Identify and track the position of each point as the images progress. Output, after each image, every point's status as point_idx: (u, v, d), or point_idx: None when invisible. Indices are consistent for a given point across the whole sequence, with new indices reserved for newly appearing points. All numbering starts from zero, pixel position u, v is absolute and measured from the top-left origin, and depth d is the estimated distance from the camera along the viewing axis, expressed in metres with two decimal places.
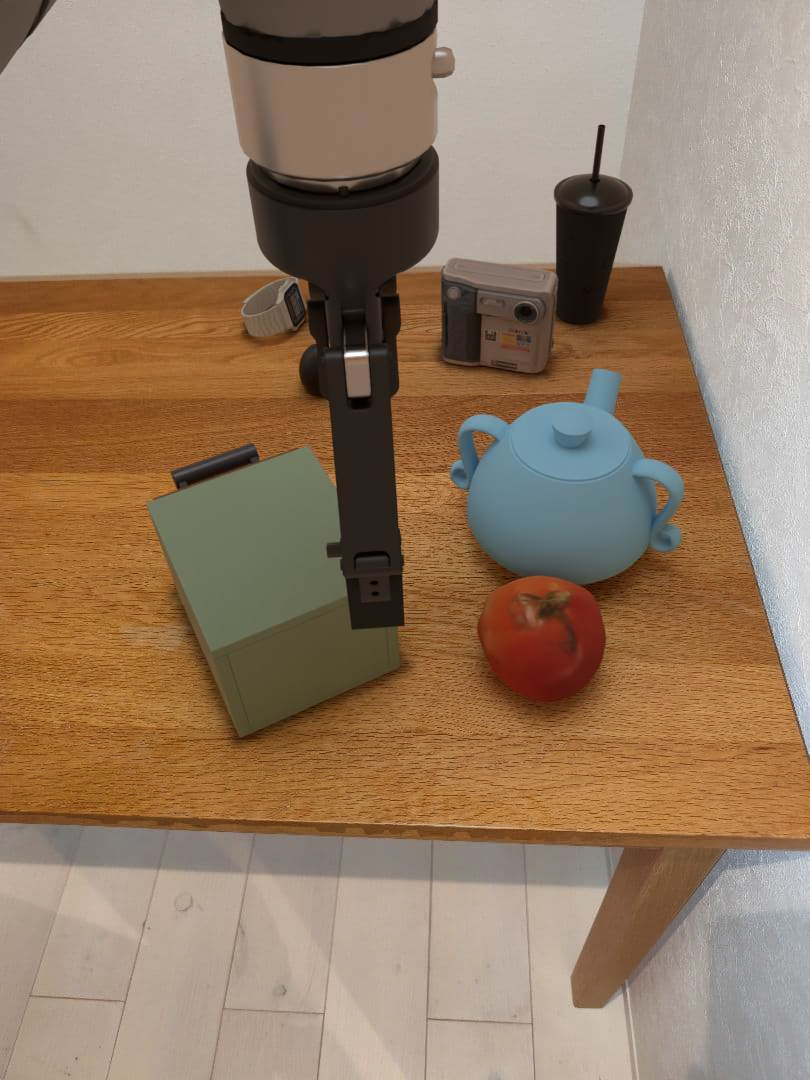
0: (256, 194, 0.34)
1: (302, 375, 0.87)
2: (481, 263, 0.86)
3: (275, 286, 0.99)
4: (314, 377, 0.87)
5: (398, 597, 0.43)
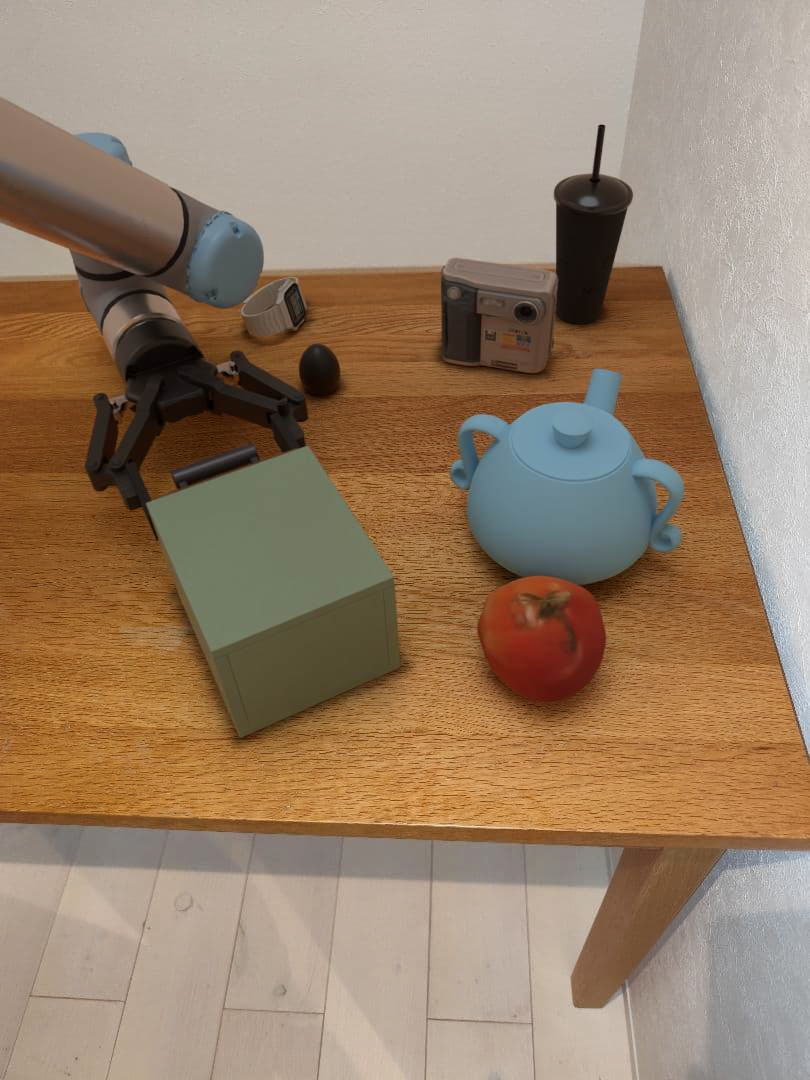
0: (167, 321, 0.81)
1: (302, 375, 0.87)
2: (481, 263, 0.86)
3: (275, 286, 0.99)
4: (314, 377, 0.87)
5: None
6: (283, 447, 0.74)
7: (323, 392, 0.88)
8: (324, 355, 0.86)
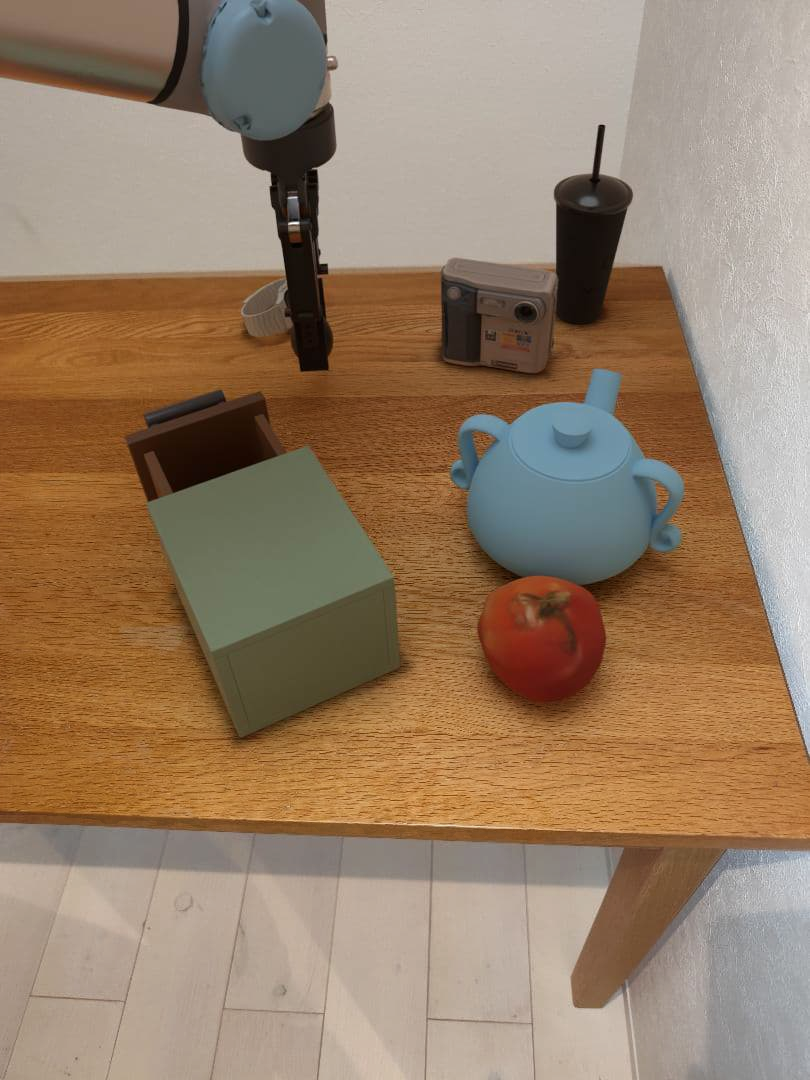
0: None
1: (294, 342, 0.84)
2: (481, 263, 0.86)
3: (275, 286, 0.99)
4: None
5: (323, 349, 0.83)
6: None
7: None
8: None
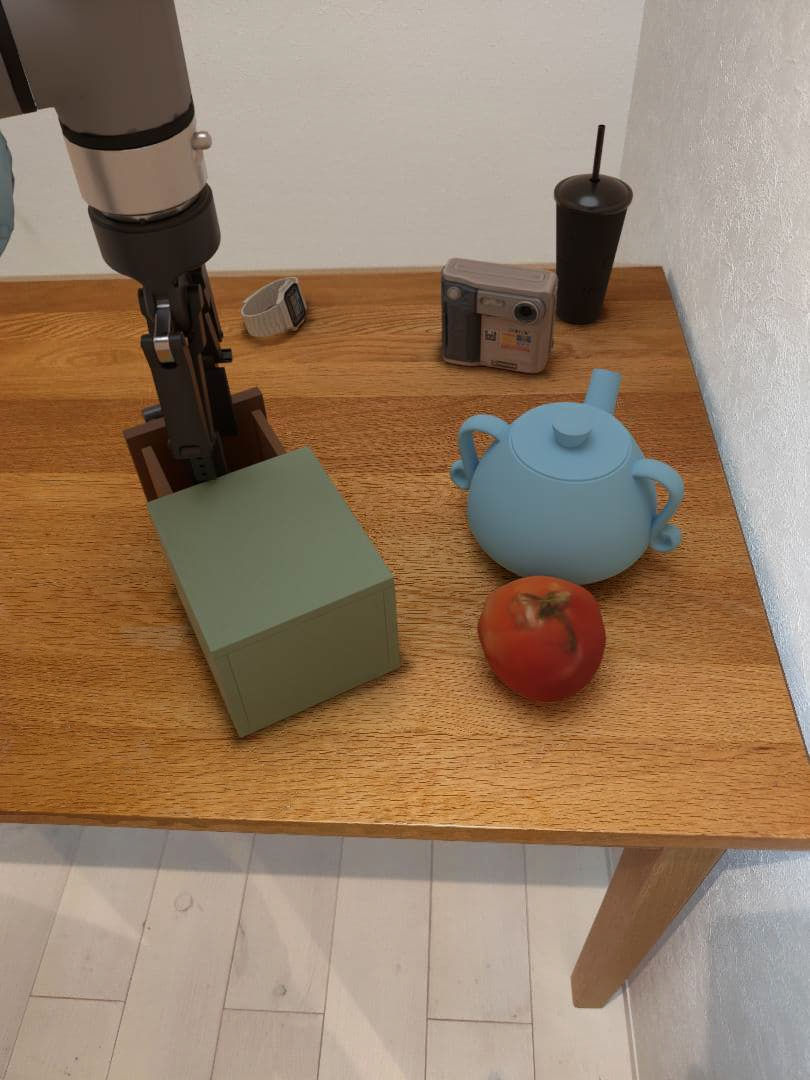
0: (92, 222, 0.53)
1: None
2: (481, 263, 0.86)
3: (275, 286, 0.99)
4: None
5: None
6: None
7: None
8: None
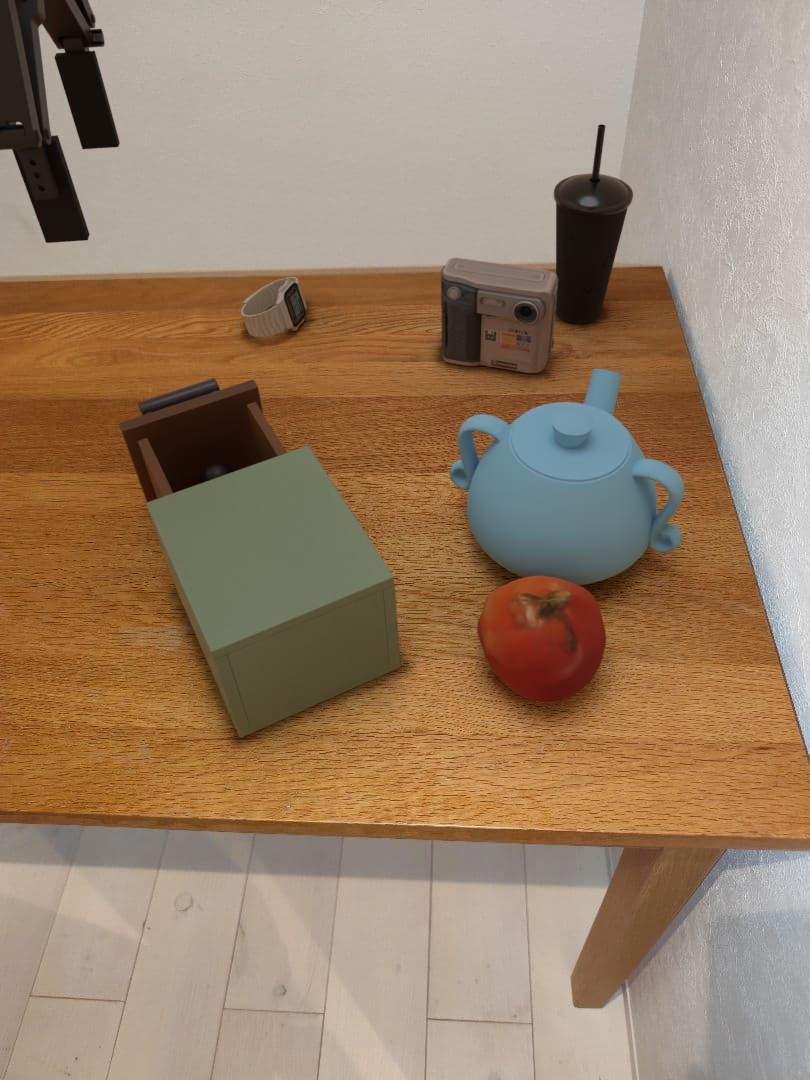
0: None
1: None
2: (481, 263, 0.86)
3: (275, 286, 0.99)
4: None
5: (72, 206, 0.56)
6: None
7: None
8: None
